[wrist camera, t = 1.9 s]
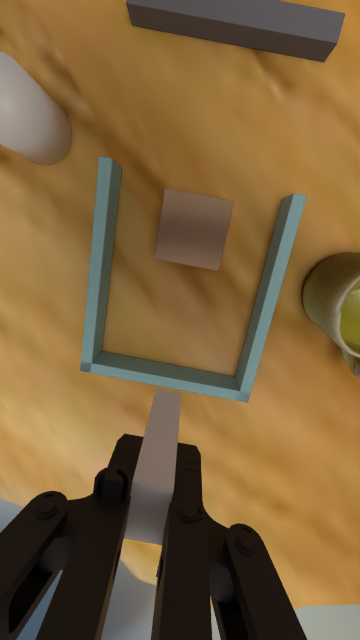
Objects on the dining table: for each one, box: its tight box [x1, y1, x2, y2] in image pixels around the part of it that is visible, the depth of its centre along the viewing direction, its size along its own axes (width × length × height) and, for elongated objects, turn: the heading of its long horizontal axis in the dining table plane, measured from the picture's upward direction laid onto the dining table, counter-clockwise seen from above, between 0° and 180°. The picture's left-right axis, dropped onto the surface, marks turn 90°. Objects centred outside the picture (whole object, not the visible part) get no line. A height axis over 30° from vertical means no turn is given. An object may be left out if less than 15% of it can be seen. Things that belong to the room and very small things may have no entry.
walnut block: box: [154, 188, 234, 271], centre depth 27 cm, size 6×6×6 cm
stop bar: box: [126, 0, 345, 62], centre depth 24 cm, size 2×18×2 cm, turn 80°
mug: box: [303, 253, 360, 379], centre depth 27 cm, size 12×10×10 cm
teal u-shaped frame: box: [80, 156, 307, 402], centre depth 30 cm, size 22×19×4 cm
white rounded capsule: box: [0, 51, 72, 165], centre depth 24 cm, size 6×6×7 cm
